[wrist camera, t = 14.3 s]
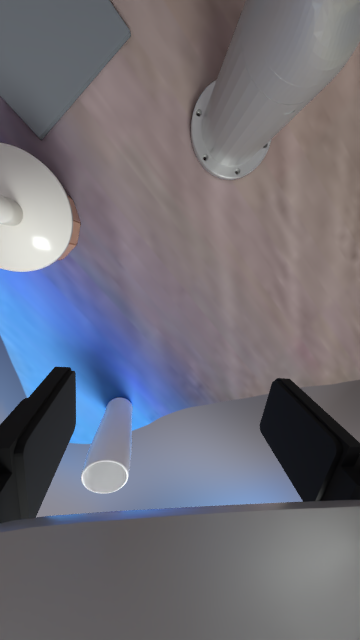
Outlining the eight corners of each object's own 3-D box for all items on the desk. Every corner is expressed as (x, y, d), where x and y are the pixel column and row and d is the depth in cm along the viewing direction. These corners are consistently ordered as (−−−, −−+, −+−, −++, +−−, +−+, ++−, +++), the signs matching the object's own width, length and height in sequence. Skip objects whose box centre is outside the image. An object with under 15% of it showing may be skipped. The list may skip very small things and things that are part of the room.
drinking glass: (96, 406, 44) (69, 479, 30) (120, 387, 44) (105, 451, 29) (119, 425, 46) (104, 501, 32) (142, 406, 46) (138, 476, 31)
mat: (6, -146, 23) (3, -157, 22) (130, 35, 28) (130, 31, 28) (-92, -4, 25) (-98, -10, 24) (41, 140, 30) (39, 137, 30)
